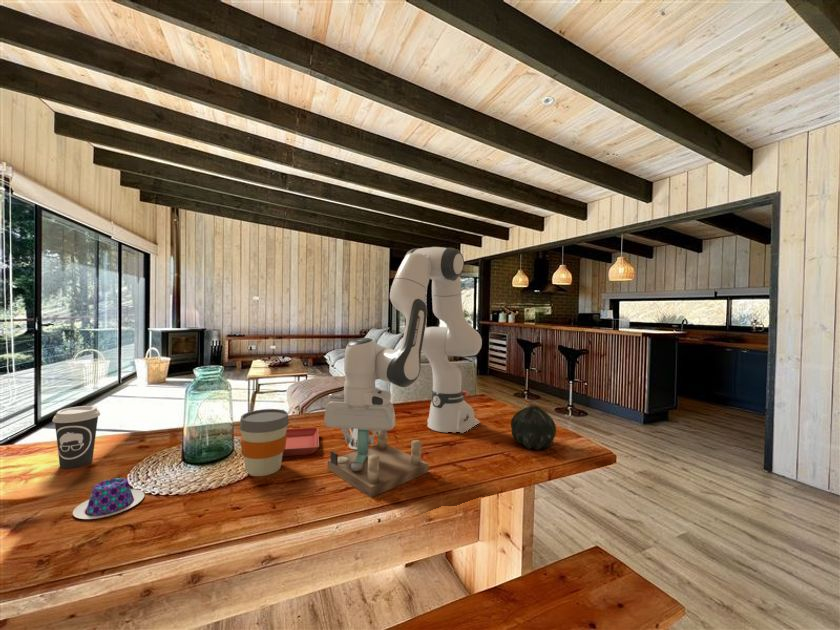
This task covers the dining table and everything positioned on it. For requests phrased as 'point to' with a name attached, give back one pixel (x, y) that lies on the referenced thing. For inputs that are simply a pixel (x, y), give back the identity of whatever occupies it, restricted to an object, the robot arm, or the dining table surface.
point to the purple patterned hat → (109, 499)
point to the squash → (533, 428)
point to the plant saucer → (301, 441)
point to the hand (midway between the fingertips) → (359, 442)
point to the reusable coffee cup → (263, 440)
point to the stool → (380, 466)
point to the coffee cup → (76, 435)
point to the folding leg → (361, 449)
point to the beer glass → (353, 438)
